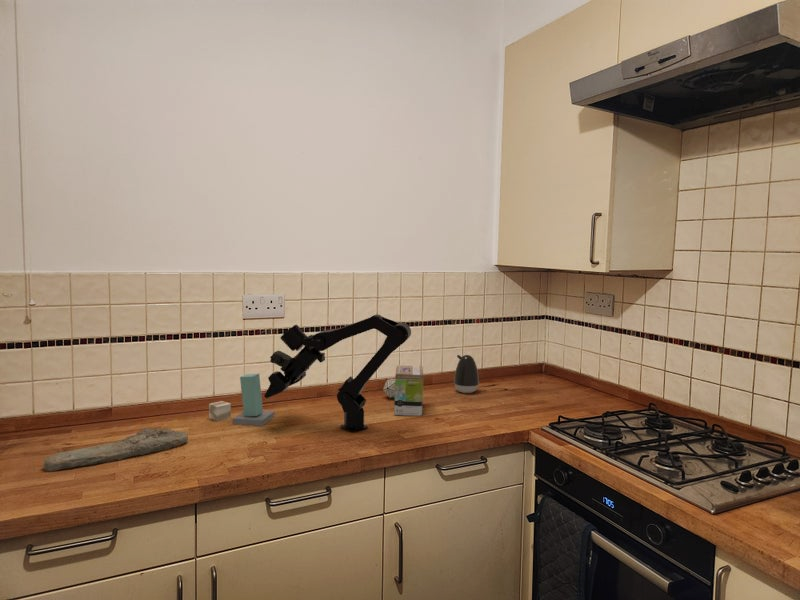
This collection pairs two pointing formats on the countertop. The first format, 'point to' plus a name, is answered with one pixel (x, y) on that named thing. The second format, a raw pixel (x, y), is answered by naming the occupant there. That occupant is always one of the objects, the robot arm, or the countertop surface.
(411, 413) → the tea box
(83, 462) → the long grey stone
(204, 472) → the countertop surface
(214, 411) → the cream cube
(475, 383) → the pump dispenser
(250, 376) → the teal block
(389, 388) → the game die
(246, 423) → the slate slab
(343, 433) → the countertop surface
